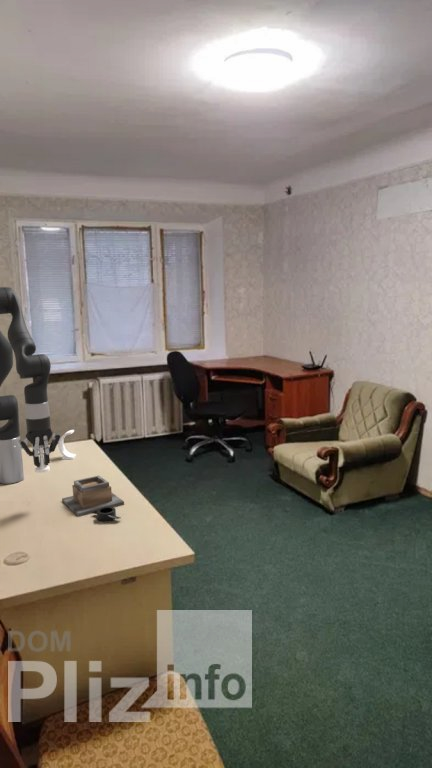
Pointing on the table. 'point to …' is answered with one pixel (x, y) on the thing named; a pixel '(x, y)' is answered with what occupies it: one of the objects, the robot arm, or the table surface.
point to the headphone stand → (62, 449)
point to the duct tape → (106, 514)
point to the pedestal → (91, 496)
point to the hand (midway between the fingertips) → (42, 465)
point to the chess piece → (41, 462)
